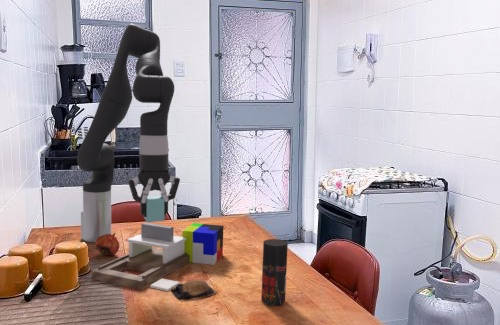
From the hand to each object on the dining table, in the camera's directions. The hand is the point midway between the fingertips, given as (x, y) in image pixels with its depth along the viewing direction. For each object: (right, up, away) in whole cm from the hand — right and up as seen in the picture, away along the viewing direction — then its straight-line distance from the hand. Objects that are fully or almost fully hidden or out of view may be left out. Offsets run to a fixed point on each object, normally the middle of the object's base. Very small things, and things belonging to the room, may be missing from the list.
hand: (154, 215), depth 128 cm
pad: (+3, -18, -2) cm, 19 cm away
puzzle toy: (+11, -16, +22) cm, 29 cm away
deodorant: (+31, -20, -10) cm, 39 cm away
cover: (-2, -14, +15) cm, 21 cm away
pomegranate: (-19, -15, +20) cm, 31 cm away
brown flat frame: (-5, -17, +10) cm, 20 cm away
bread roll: (+11, -20, -5) cm, 23 cm away
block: (0, -1, 0) cm, 1 cm away
